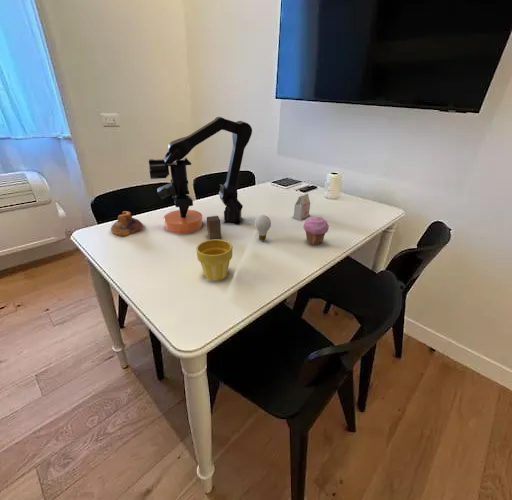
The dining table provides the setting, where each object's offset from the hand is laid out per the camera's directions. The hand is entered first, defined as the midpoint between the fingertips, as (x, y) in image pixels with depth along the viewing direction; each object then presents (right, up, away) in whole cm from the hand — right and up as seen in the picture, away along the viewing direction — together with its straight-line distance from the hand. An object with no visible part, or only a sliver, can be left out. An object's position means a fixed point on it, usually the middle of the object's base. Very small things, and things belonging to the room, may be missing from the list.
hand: (183, 216), depth 120 cm
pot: (0, -4, +2) cm, 5 cm away
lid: (0, -1, 0) cm, 1 cm away
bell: (-21, -6, -2) cm, 22 cm away
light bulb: (+31, -10, -7) cm, 34 cm away
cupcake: (+51, -11, -7) cm, 52 cm away
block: (+13, -9, -6) cm, 17 cm away
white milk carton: (+49, +1, +14) cm, 51 cm away
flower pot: (+17, -21, -28) cm, 39 cm away
